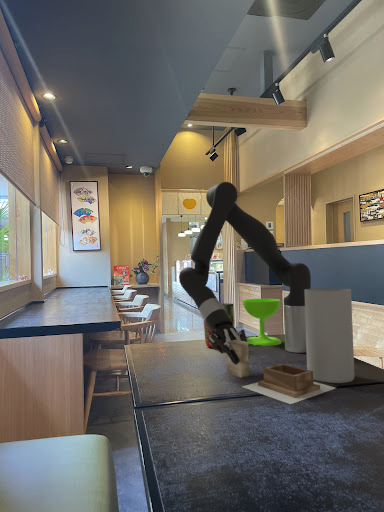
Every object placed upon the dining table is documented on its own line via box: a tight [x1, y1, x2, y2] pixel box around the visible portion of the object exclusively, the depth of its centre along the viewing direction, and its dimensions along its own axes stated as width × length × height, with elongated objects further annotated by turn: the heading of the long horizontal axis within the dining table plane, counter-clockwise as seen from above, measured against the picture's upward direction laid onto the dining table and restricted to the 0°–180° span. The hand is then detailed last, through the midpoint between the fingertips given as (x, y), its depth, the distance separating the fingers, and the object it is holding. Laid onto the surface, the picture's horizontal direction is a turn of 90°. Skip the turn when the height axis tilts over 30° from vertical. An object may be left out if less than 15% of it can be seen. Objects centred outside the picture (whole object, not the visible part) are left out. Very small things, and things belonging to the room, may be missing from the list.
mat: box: [241, 381, 336, 405], centre depth 94 cm, size 18×16×1 cm
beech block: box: [226, 340, 250, 379], centre depth 106 cm, size 3×6×10 cm, turn 35°
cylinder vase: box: [305, 287, 355, 384], centre depth 103 cm, size 12×12×25 cm
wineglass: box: [242, 298, 282, 347], centre depth 155 cm, size 16×16×18 cm
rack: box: [257, 363, 320, 398], centre depth 94 cm, size 10×12×4 cm
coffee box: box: [221, 302, 235, 328], centre depth 161 cm, size 9×6×16 cm
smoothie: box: [203, 320, 222, 348], centre depth 147 cm, size 8×8×20 cm
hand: (242, 361), depth 105 cm, fingers closed on beech block, 3 cm apart
